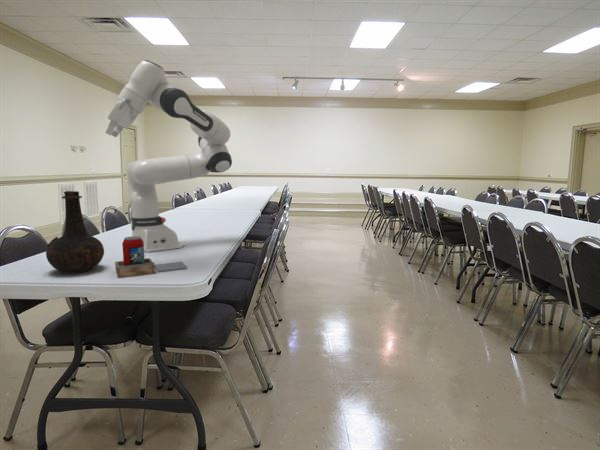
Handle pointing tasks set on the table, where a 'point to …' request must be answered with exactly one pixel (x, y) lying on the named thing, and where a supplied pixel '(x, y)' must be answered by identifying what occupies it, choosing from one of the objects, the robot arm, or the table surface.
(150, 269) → the can cradle
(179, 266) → the rubber mat
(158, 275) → the table surface
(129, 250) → the beverage can
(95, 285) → the table surface
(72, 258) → the glass bottle
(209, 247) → the table surface
